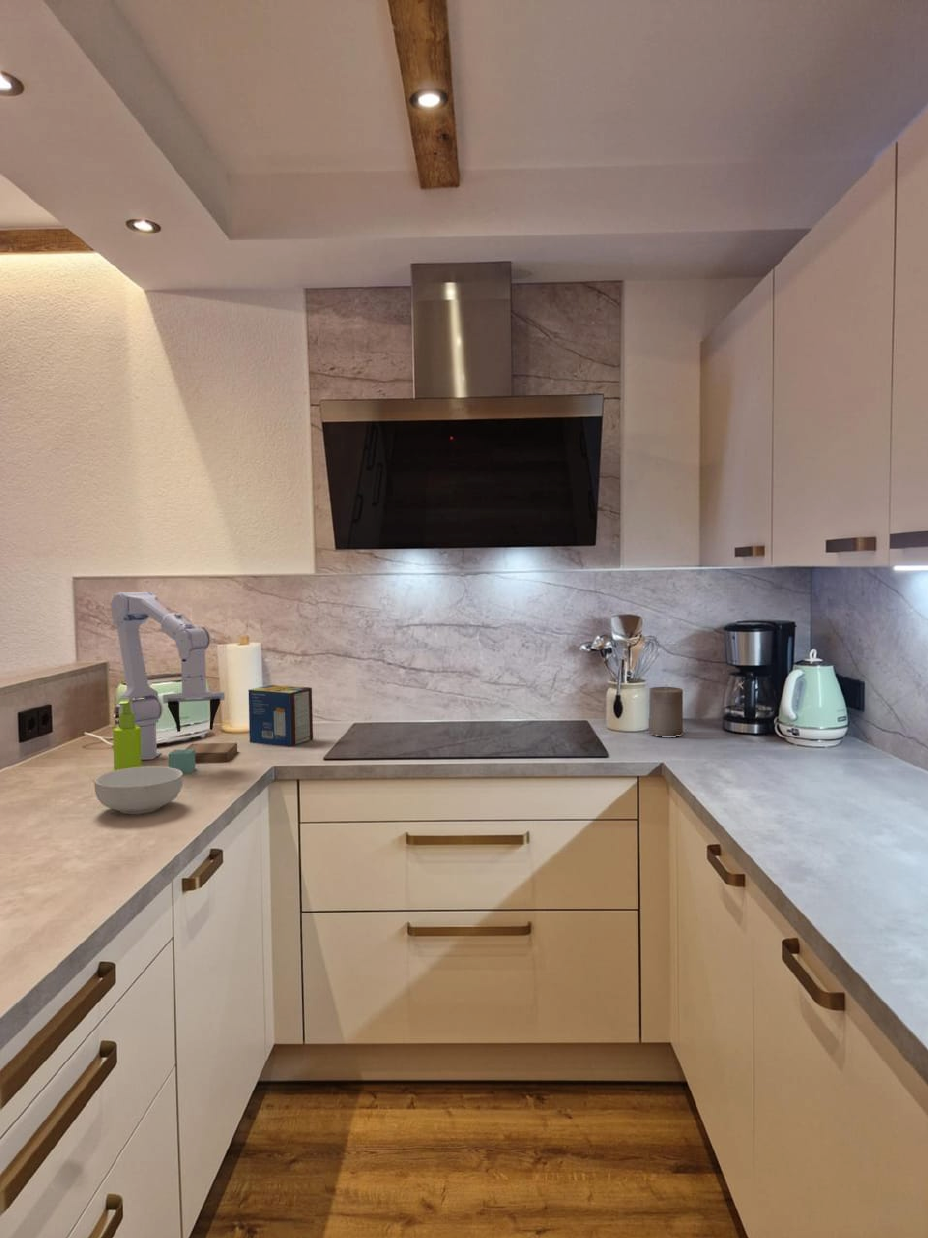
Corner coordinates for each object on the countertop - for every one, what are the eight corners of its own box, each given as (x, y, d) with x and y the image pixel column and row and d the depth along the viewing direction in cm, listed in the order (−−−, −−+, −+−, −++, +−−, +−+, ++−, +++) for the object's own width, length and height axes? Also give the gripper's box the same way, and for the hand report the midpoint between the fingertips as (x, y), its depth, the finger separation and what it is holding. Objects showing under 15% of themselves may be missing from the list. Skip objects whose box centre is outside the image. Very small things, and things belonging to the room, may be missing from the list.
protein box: (272, 735, 241) (270, 684, 240) (313, 740, 234) (312, 687, 234) (248, 742, 232) (247, 689, 231) (291, 747, 225) (290, 692, 224)
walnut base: (180, 764, 207) (179, 753, 206) (192, 754, 219) (192, 743, 218) (227, 763, 208) (227, 752, 207) (237, 753, 219) (236, 742, 219)
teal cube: (169, 774, 195) (168, 754, 195) (175, 769, 200) (174, 749, 200) (190, 773, 196) (189, 753, 195) (195, 769, 201) (194, 749, 200)
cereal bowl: (88, 825, 156) (87, 789, 155) (101, 801, 172) (100, 769, 171) (181, 816, 160) (180, 781, 160) (185, 795, 176) (184, 763, 176)
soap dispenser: (112, 789, 181) (109, 701, 180) (116, 782, 188) (114, 697, 187) (140, 787, 183) (137, 700, 182) (143, 780, 189) (141, 696, 188)
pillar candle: (676, 731, 243) (676, 682, 242) (687, 737, 233) (687, 686, 232) (644, 732, 242) (644, 682, 241) (654, 738, 233) (654, 687, 232)
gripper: (161, 679, 194) (163, 735, 195) (224, 676, 198) (225, 731, 199) (163, 676, 201) (164, 729, 201) (223, 673, 205) (225, 726, 206)
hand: (195, 730), depth 201 cm, fingers open, 7 cm apart
